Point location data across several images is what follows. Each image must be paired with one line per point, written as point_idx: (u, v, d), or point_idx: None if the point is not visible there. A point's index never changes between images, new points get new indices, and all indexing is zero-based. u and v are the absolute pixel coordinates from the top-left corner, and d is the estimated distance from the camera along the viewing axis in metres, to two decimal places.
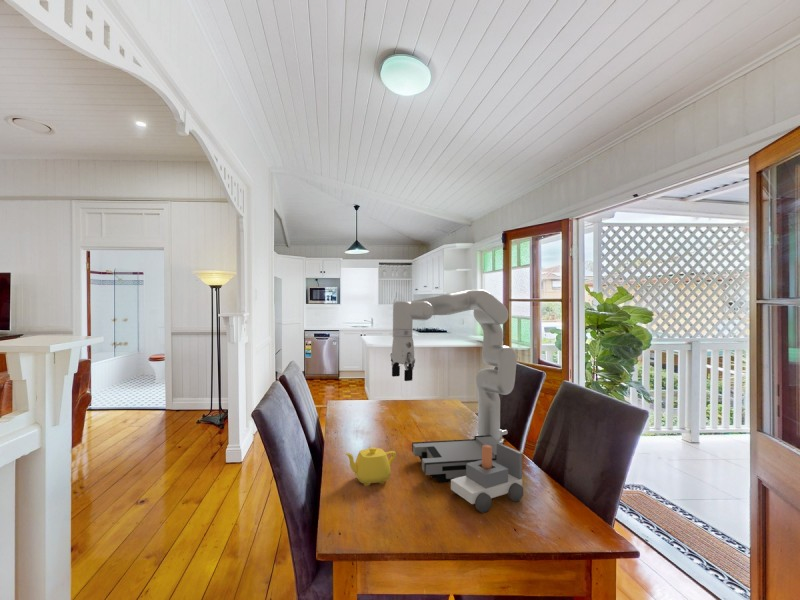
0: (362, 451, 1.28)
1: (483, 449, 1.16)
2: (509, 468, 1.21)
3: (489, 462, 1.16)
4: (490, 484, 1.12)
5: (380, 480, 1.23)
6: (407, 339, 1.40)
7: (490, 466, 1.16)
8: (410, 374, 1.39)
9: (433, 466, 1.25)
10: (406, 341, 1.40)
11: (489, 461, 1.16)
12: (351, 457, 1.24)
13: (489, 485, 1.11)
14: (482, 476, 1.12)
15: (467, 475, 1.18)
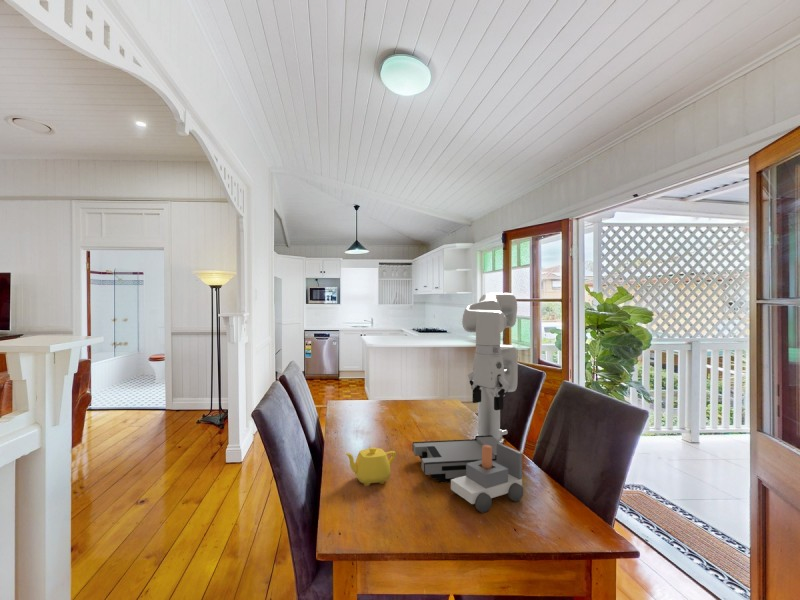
0: (362, 451, 1.28)
1: (483, 449, 1.16)
2: (509, 468, 1.21)
3: (489, 462, 1.16)
4: (490, 484, 1.12)
5: (380, 480, 1.23)
6: (497, 358, 1.14)
7: (490, 466, 1.16)
8: (501, 402, 1.12)
9: (432, 466, 1.25)
10: (496, 361, 1.13)
11: (489, 461, 1.16)
12: (351, 457, 1.24)
13: (489, 485, 1.11)
14: (482, 476, 1.12)
15: (467, 475, 1.18)
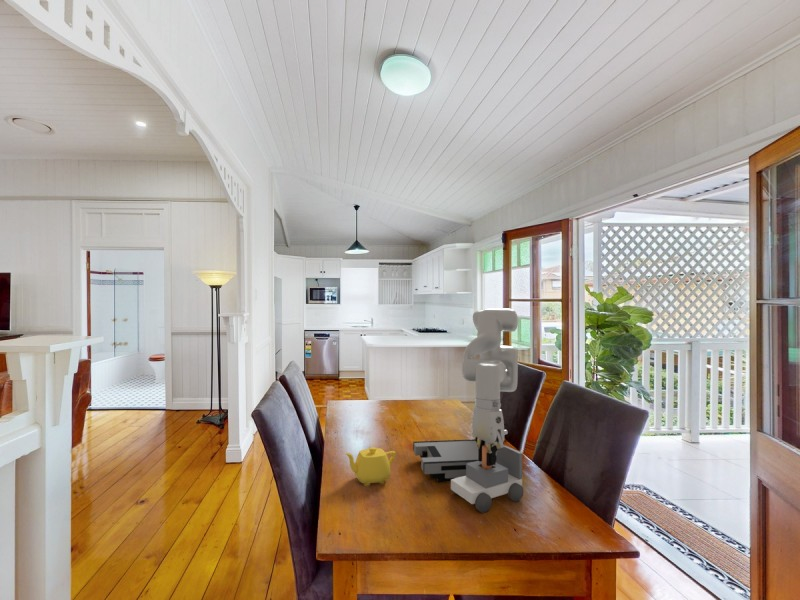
0: (362, 451, 1.28)
1: (483, 449, 1.16)
2: (509, 468, 1.21)
3: None
4: (490, 484, 1.12)
5: (380, 480, 1.23)
6: (496, 413, 1.13)
7: (490, 466, 1.16)
8: (494, 458, 1.15)
9: (432, 465, 1.25)
10: (495, 415, 1.13)
11: None
12: (351, 457, 1.24)
13: (489, 485, 1.11)
14: (482, 476, 1.12)
15: (467, 475, 1.18)
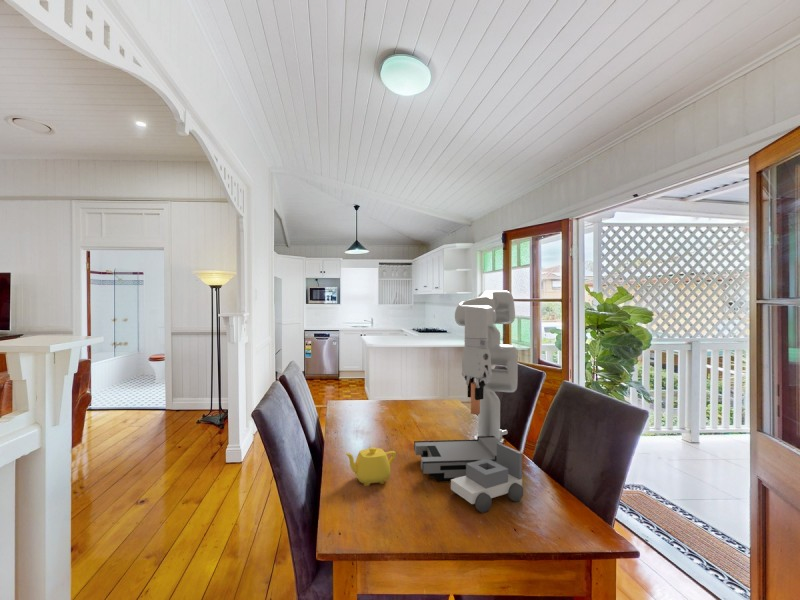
0: (362, 451, 1.28)
1: (472, 385, 1.26)
2: (509, 468, 1.21)
3: None
4: (490, 484, 1.12)
5: (380, 480, 1.23)
6: (484, 350, 1.22)
7: (478, 400, 1.25)
8: (482, 392, 1.24)
9: (431, 465, 1.25)
10: (483, 352, 1.22)
11: None
12: (351, 457, 1.24)
13: (489, 485, 1.11)
14: (482, 476, 1.12)
15: (467, 475, 1.18)
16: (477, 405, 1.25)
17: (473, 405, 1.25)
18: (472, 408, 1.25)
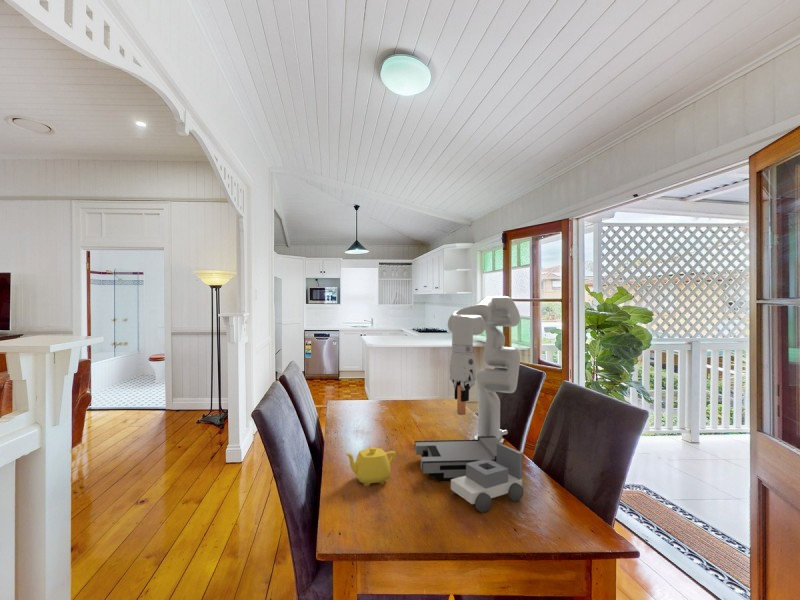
0: (362, 451, 1.28)
1: (458, 388, 1.37)
2: (509, 468, 1.21)
3: None
4: (490, 484, 1.12)
5: (380, 480, 1.23)
6: (469, 356, 1.34)
7: (464, 402, 1.36)
8: (467, 394, 1.35)
9: (430, 465, 1.26)
10: (468, 358, 1.33)
11: None
12: (351, 457, 1.24)
13: (489, 485, 1.11)
14: (482, 476, 1.12)
15: (467, 475, 1.18)
16: (463, 406, 1.36)
17: (459, 406, 1.36)
18: (458, 409, 1.36)
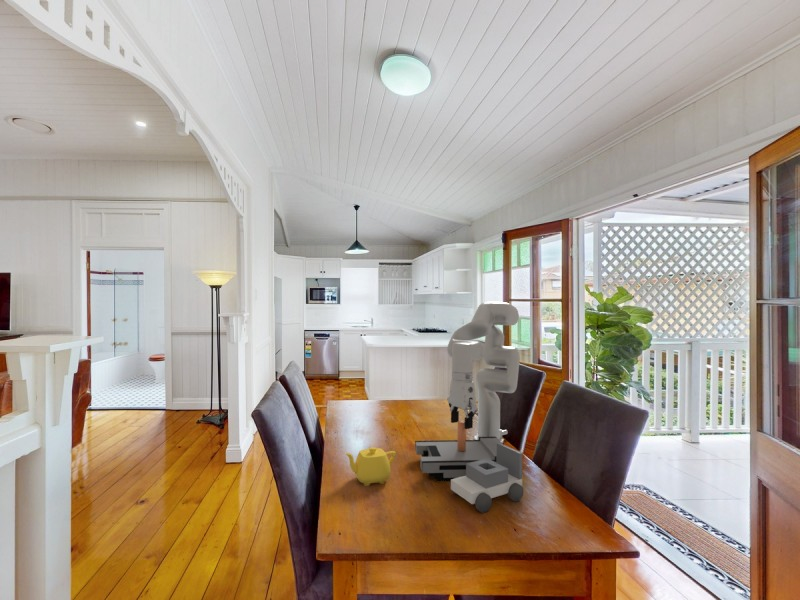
0: (362, 451, 1.28)
1: (458, 424, 1.37)
2: (509, 468, 1.21)
3: (464, 435, 1.36)
4: (490, 484, 1.12)
5: (380, 480, 1.23)
6: (469, 383, 1.34)
7: (464, 438, 1.36)
8: (471, 422, 1.33)
9: (430, 465, 1.26)
10: (468, 386, 1.33)
11: (463, 434, 1.36)
12: (351, 457, 1.24)
13: (489, 485, 1.11)
14: (482, 476, 1.12)
15: (467, 475, 1.18)
16: (463, 442, 1.36)
17: (459, 442, 1.36)
18: (458, 445, 1.36)
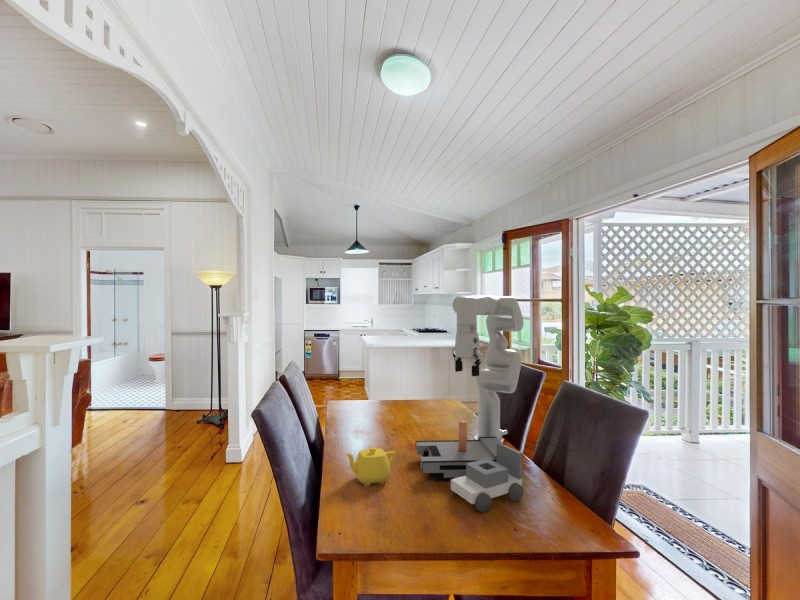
0: (362, 451, 1.28)
1: (459, 424, 1.37)
2: (509, 468, 1.21)
3: (465, 435, 1.36)
4: (490, 484, 1.12)
5: (380, 480, 1.23)
6: (473, 335, 1.40)
7: (465, 438, 1.36)
8: (477, 369, 1.40)
9: (430, 465, 1.26)
10: (472, 337, 1.40)
11: (464, 434, 1.36)
12: (351, 457, 1.24)
13: (489, 485, 1.11)
14: (482, 476, 1.12)
15: (467, 475, 1.18)
16: (464, 442, 1.36)
17: (460, 442, 1.36)
18: (459, 445, 1.36)
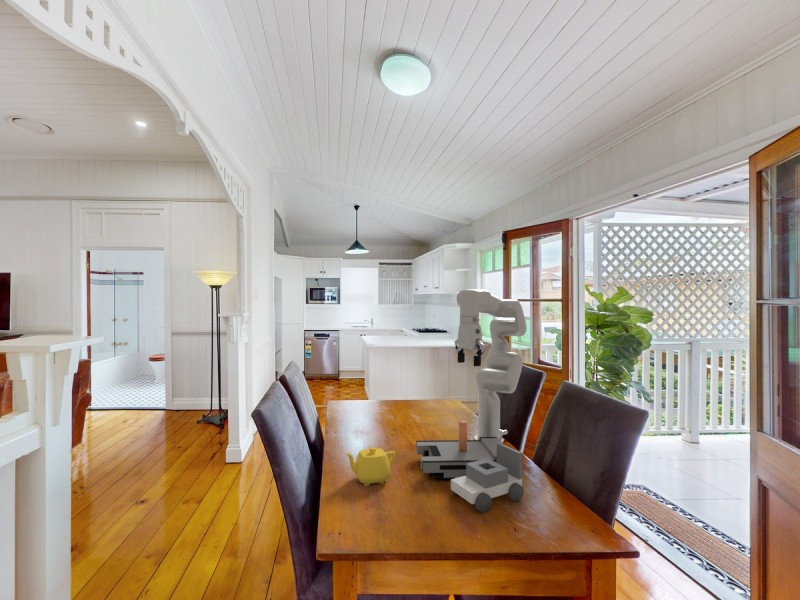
0: (362, 451, 1.28)
1: (459, 424, 1.37)
2: (509, 468, 1.21)
3: (465, 435, 1.36)
4: (490, 484, 1.12)
5: (380, 480, 1.23)
6: (476, 326, 1.45)
7: (465, 438, 1.36)
8: (479, 359, 1.43)
9: (430, 464, 1.26)
10: (475, 328, 1.44)
11: (464, 434, 1.36)
12: (351, 457, 1.24)
13: (489, 485, 1.11)
14: (482, 476, 1.12)
15: (467, 475, 1.18)
16: (465, 442, 1.36)
17: (460, 442, 1.36)
18: (460, 445, 1.36)
